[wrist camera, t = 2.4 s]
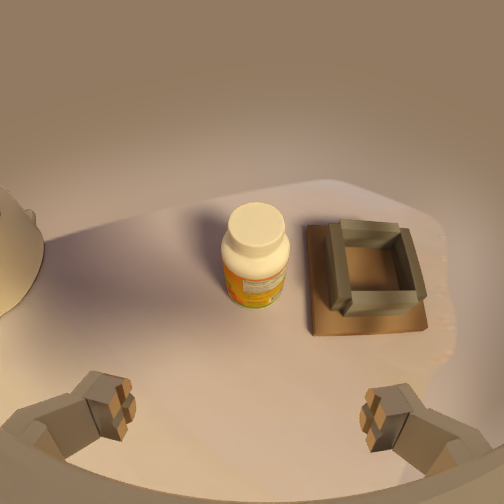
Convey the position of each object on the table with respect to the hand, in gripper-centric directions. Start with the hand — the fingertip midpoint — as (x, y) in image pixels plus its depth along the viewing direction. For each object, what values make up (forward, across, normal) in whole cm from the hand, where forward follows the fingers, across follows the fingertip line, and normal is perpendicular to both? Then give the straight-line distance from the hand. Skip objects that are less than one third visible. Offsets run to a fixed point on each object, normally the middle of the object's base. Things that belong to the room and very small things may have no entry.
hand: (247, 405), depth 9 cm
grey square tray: (+20, -11, +2) cm, 23 cm away
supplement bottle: (+20, 0, +2) cm, 20 cm away
